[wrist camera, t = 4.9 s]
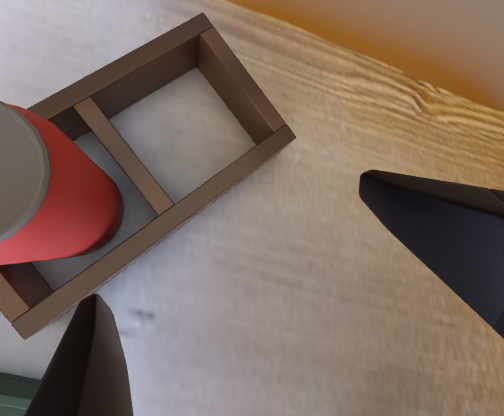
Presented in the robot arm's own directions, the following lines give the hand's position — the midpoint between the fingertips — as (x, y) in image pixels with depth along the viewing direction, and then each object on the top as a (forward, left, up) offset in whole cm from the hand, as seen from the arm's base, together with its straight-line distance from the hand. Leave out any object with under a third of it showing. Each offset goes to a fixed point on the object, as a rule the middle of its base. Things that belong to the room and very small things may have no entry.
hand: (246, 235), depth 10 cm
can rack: (-7, +2, -14) cm, 16 cm away
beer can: (-9, -3, -15) cm, 17 cm away
